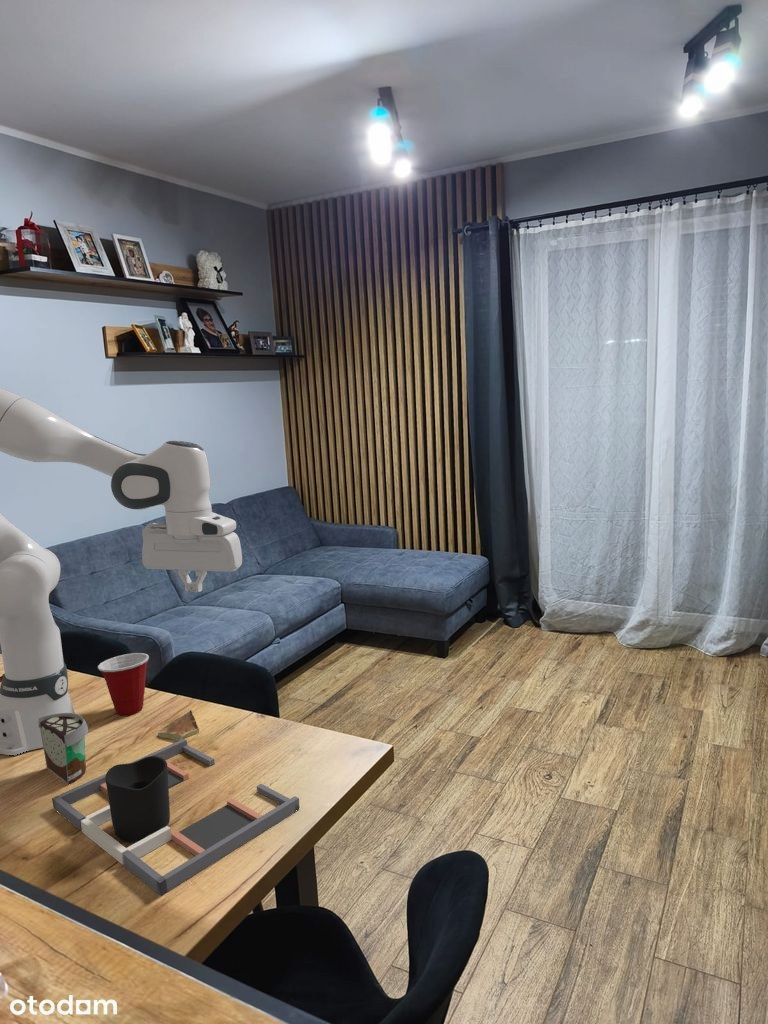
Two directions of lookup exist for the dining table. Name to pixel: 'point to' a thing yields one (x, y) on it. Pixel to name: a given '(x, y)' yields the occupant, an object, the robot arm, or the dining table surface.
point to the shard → (180, 728)
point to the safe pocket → (115, 847)
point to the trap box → (200, 838)
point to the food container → (64, 745)
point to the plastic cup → (126, 681)
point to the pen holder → (138, 798)
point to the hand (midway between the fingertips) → (193, 591)
